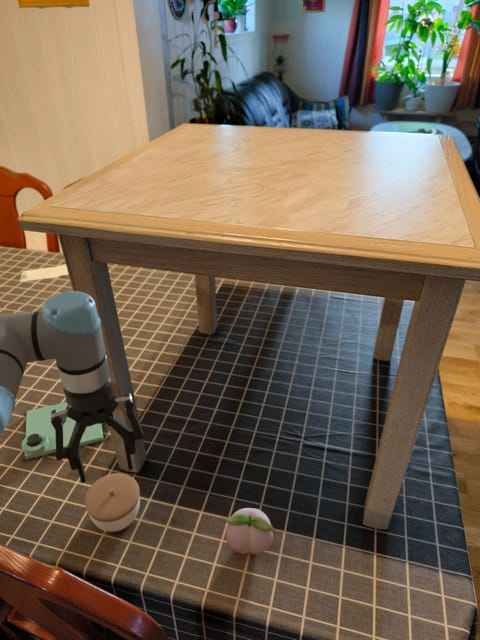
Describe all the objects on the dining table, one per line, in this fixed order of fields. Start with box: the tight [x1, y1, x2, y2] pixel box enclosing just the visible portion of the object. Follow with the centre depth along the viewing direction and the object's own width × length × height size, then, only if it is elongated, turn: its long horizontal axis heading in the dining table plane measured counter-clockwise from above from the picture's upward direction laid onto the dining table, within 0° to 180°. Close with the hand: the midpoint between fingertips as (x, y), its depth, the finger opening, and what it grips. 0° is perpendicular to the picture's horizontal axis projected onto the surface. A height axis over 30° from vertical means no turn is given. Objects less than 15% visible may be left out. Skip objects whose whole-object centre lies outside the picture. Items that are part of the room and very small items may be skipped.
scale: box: [21, 401, 105, 460], centre depth 113 cm, size 18×16×4 cm
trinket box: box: [84, 472, 141, 533], centre depth 91 cm, size 11×11×9 cm
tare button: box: [27, 434, 41, 447], centre depth 106 cm, size 3×3×2 cm
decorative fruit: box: [224, 507, 275, 556], centre depth 86 cm, size 9×8×10 cm
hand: (106, 470), depth 85 cm, fingers open, 8 cm apart
